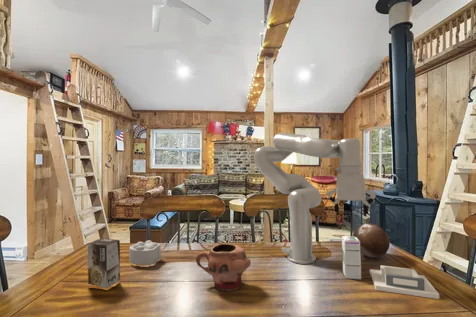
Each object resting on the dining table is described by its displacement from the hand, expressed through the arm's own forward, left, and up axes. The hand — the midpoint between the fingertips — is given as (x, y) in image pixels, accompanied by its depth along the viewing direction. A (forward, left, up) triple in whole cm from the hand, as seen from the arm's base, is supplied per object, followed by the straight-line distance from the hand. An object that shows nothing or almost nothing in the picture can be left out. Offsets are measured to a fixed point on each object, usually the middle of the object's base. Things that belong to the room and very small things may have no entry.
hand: (351, 214), depth 98 cm
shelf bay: (+16, -2, -24) cm, 28 cm away
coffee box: (-85, -37, -24) cm, 96 cm away
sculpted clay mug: (-44, -23, -24) cm, 55 cm away
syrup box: (0, 0, -24) cm, 24 cm away
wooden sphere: (+10, +24, -24) cm, 35 cm away
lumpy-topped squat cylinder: (-86, -15, -24) cm, 91 cm away
